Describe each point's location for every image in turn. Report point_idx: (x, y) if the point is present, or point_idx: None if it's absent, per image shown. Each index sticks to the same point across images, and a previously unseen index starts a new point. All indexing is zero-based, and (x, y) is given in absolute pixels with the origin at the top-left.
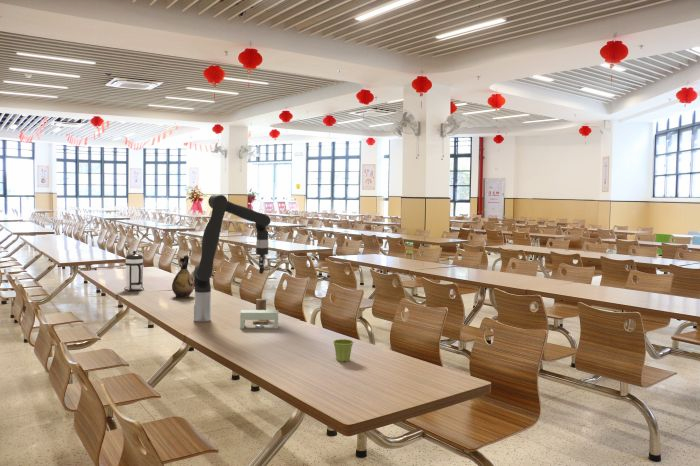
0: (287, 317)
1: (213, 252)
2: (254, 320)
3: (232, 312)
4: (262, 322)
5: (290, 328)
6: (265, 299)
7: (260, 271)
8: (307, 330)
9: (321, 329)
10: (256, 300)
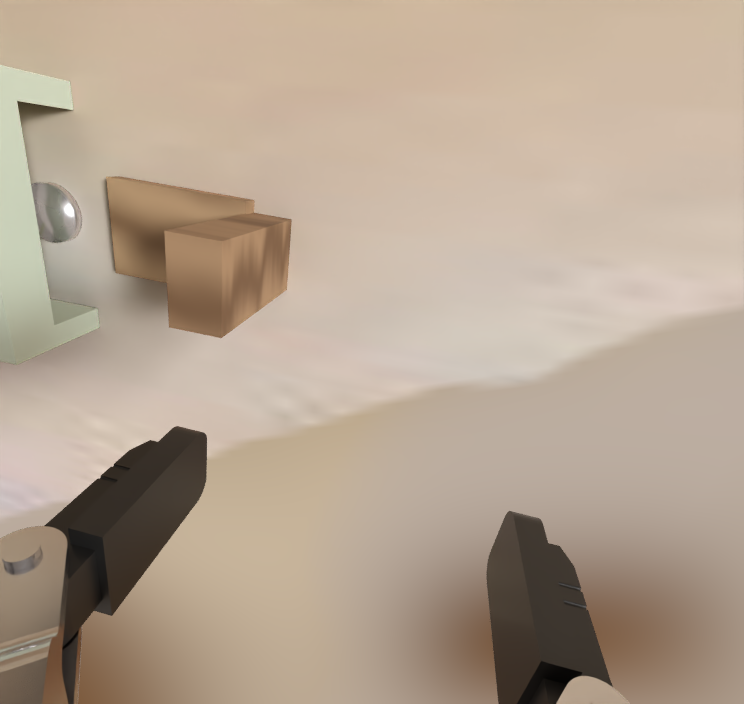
0: (307, 421)
1: None
2: (139, 191)
3: (568, 15)
4: (116, 243)
5: (45, 375)
6: (194, 325)
7: (120, 467)
8: (21, 437)
9: (51, 495)
10: (168, 234)
